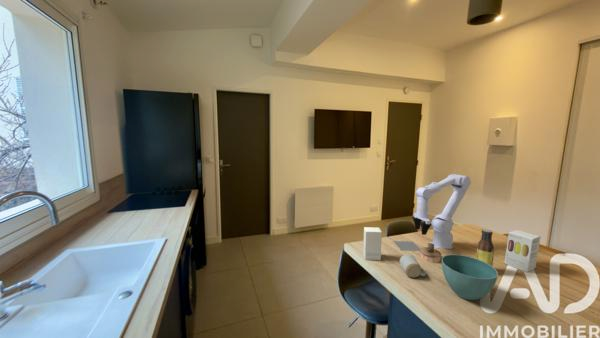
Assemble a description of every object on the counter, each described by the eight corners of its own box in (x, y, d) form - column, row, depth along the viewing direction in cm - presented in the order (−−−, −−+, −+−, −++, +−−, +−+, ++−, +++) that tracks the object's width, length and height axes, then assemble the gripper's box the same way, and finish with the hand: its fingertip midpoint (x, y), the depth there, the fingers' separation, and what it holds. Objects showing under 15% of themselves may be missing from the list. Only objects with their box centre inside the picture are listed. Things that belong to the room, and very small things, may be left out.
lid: (435, 249, 127) (436, 240, 126) (444, 258, 117) (445, 249, 117) (417, 248, 128) (417, 239, 127) (424, 256, 118) (425, 247, 117)
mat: (412, 242, 143) (412, 241, 143) (422, 251, 131) (422, 250, 131) (393, 241, 143) (393, 241, 143) (401, 251, 131) (401, 250, 131)
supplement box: (503, 263, 119) (507, 231, 117) (511, 259, 124) (516, 229, 122) (528, 272, 111) (533, 239, 109) (536, 268, 115) (541, 235, 113)
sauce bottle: (494, 274, 109) (499, 234, 106) (479, 273, 110) (484, 232, 108) (486, 267, 115) (491, 228, 113) (472, 265, 116) (476, 227, 114)
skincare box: (378, 254, 126) (379, 227, 124) (381, 261, 119) (382, 232, 118) (362, 253, 127) (363, 226, 125) (364, 260, 120) (365, 231, 118)
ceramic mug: (405, 278, 105) (407, 262, 104) (398, 268, 113) (400, 253, 112) (429, 279, 104) (431, 263, 103) (420, 269, 112) (422, 254, 112)
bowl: (434, 254, 127) (434, 249, 127) (443, 263, 118) (444, 257, 118) (417, 254, 127) (418, 248, 127) (426, 262, 118) (426, 257, 118)
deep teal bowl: (470, 313, 84) (473, 282, 82) (429, 283, 101) (431, 257, 100) (505, 304, 89) (510, 274, 87) (461, 277, 106) (463, 252, 105)
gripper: (409, 205, 139) (407, 226, 141) (421, 212, 125) (419, 236, 126) (421, 205, 139) (419, 227, 141) (435, 212, 124) (432, 237, 126)
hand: (420, 231), depth 133 cm, fingers open, 7 cm apart
